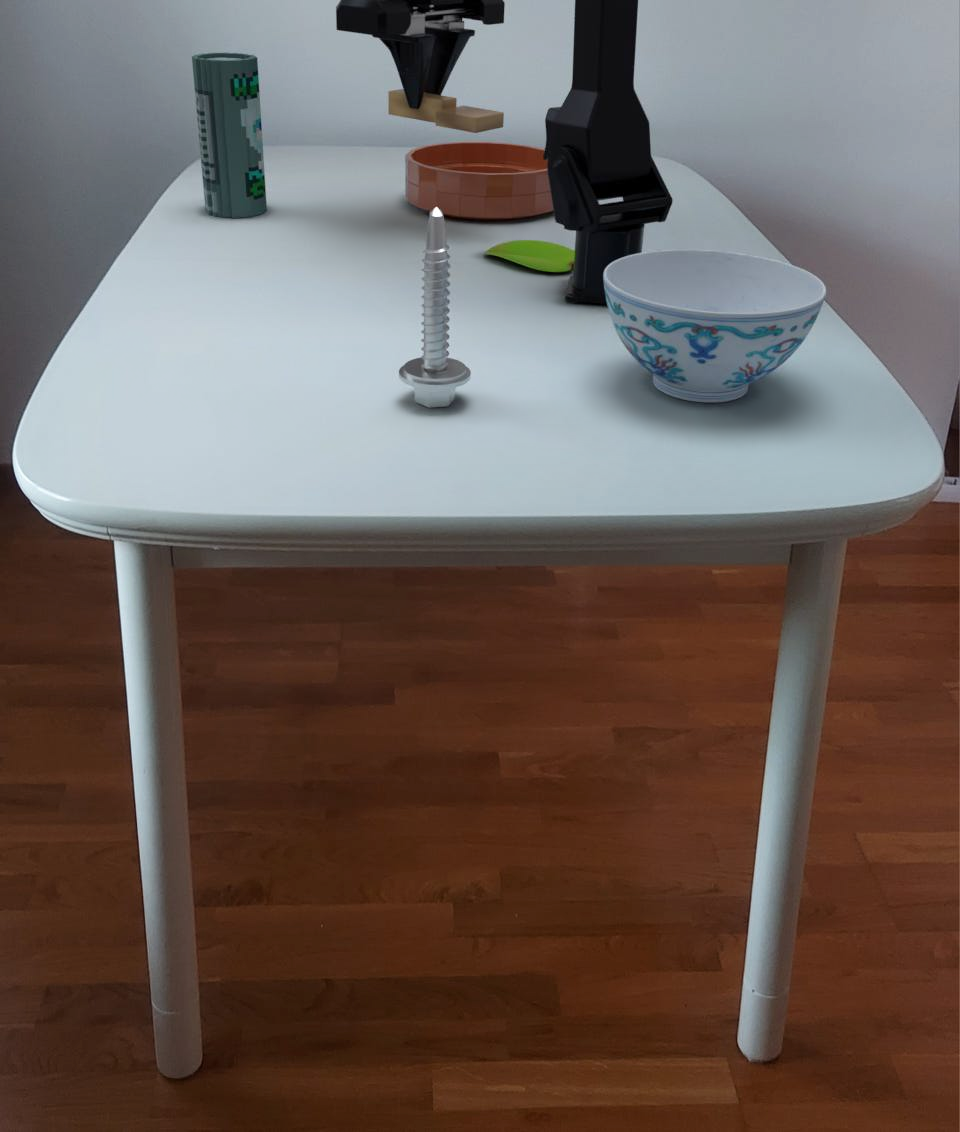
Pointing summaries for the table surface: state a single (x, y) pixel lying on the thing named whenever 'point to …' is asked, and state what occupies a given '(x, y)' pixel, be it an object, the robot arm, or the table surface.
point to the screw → (435, 327)
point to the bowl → (479, 180)
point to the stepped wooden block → (445, 112)
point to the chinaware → (710, 317)
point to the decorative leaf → (536, 254)
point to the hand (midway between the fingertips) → (422, 107)
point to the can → (230, 134)
